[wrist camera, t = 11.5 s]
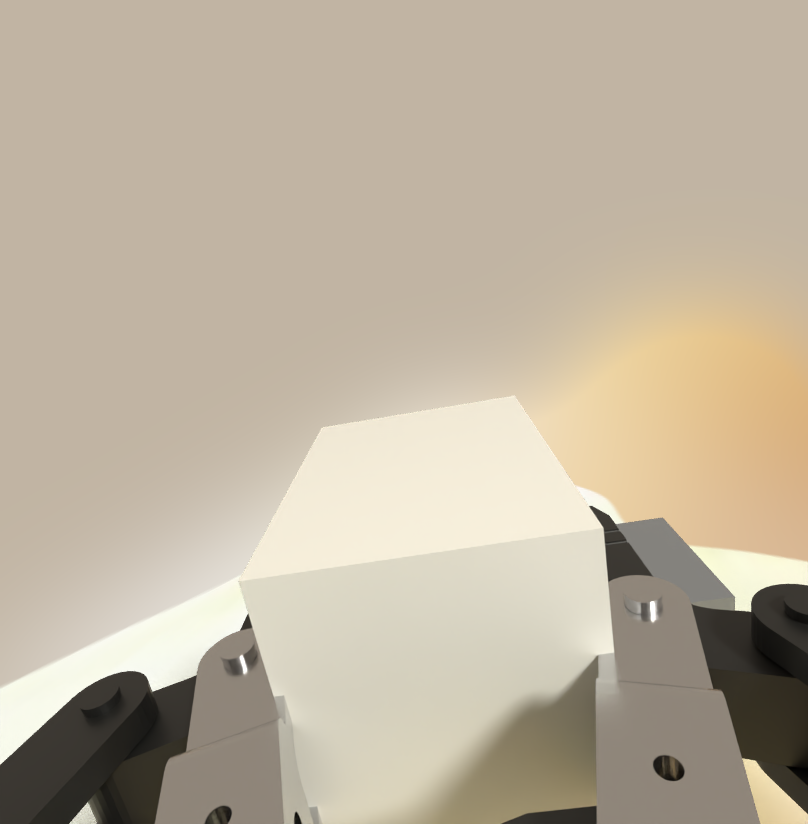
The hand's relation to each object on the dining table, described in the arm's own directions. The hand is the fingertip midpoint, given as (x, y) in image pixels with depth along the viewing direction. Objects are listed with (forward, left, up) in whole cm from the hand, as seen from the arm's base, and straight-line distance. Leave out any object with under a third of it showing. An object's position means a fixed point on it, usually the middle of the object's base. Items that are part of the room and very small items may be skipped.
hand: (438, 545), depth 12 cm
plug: (0, -1, -6) cm, 6 cm away
